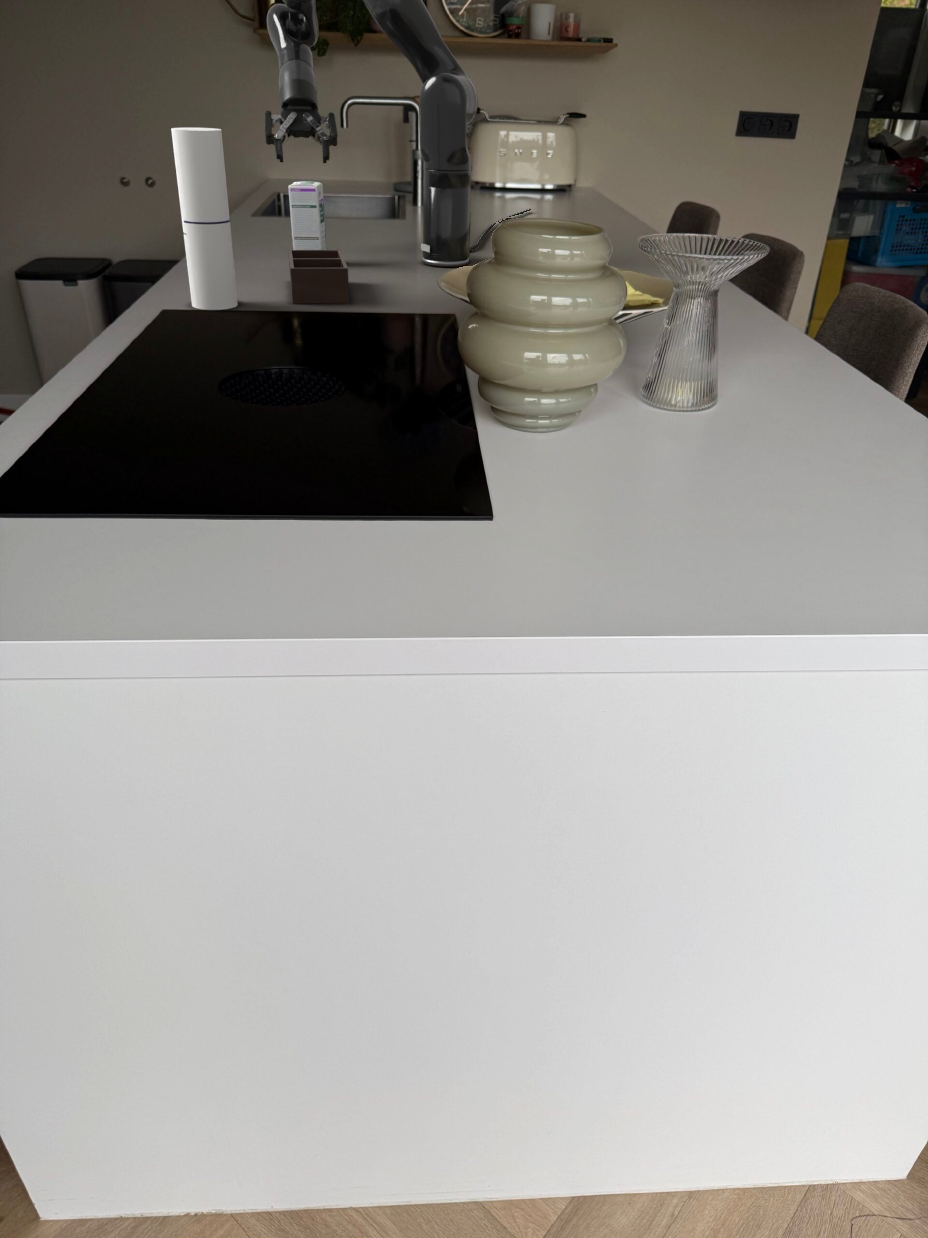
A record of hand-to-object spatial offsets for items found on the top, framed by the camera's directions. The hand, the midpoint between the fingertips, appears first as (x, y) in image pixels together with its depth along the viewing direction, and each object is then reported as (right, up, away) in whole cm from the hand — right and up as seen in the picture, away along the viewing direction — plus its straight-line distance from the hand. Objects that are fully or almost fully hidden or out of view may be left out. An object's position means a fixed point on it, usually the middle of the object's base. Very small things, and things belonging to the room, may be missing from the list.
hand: (303, 159), depth 182 cm
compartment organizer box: (+7, -35, -24) cm, 43 cm away
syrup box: (+2, -21, -1) cm, 21 cm away
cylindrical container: (-8, -41, -35) cm, 54 cm away
